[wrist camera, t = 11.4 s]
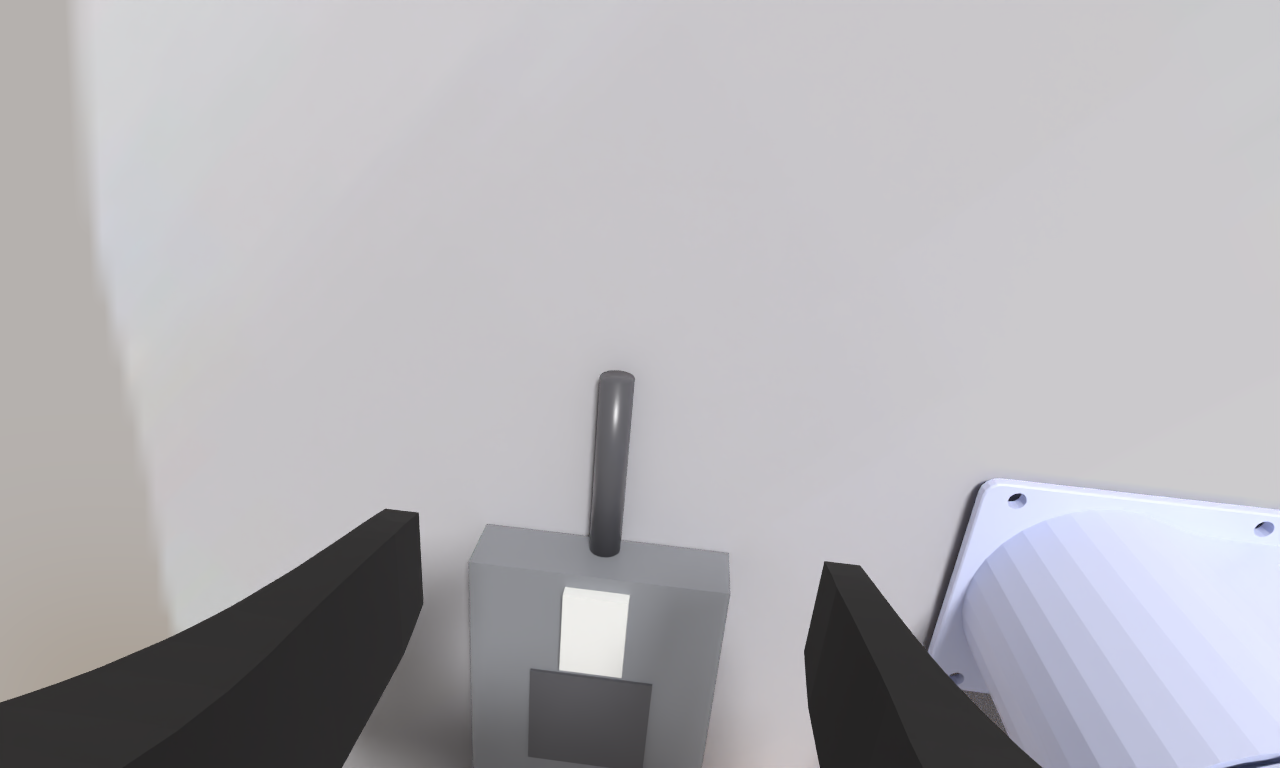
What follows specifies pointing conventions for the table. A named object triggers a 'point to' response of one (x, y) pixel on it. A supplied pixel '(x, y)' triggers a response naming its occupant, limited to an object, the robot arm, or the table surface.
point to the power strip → (533, 635)
